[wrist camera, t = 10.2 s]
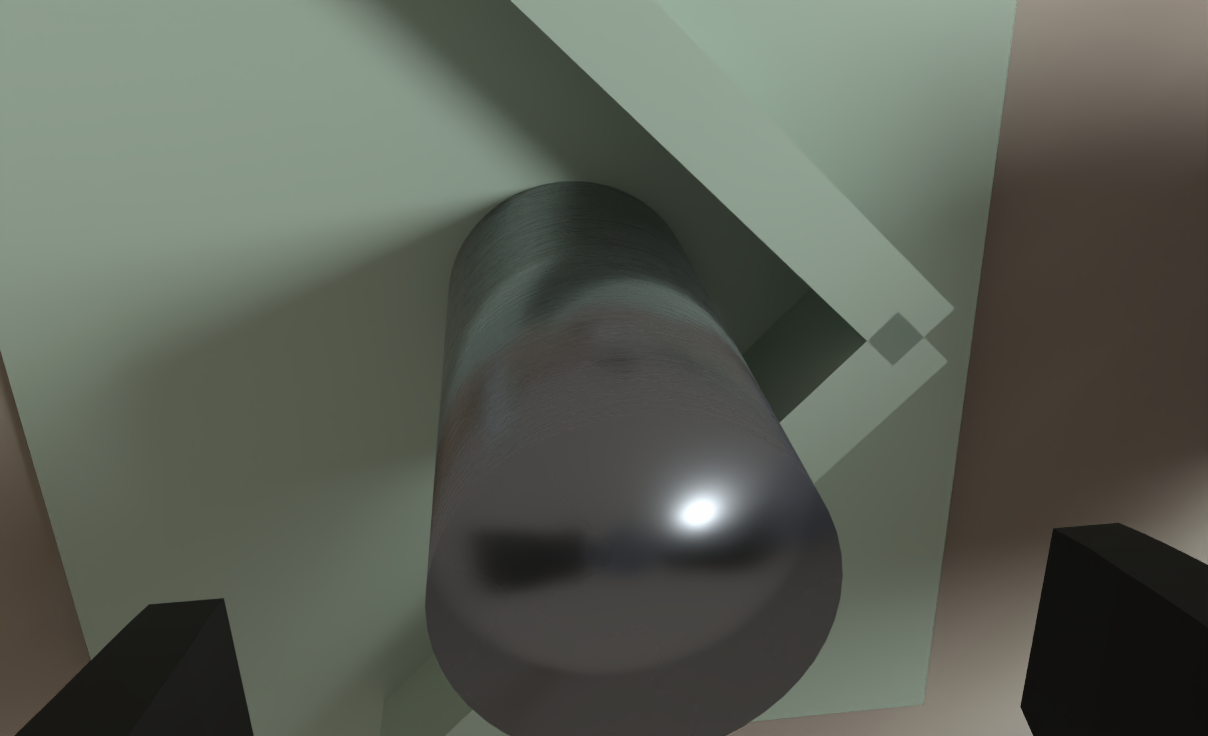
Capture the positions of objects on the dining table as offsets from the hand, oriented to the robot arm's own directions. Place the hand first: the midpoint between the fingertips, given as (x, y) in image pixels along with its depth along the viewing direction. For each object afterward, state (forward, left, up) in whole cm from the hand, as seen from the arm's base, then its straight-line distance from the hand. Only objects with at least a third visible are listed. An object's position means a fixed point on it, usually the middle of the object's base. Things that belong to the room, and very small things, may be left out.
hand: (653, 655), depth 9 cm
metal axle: (0, 0, -9) cm, 9 cm away
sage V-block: (+1, 0, -9) cm, 9 cm away
